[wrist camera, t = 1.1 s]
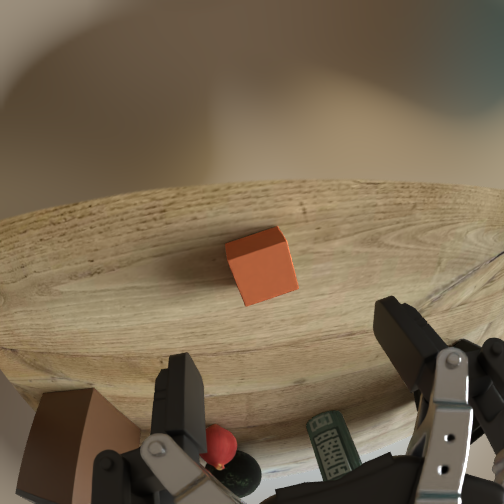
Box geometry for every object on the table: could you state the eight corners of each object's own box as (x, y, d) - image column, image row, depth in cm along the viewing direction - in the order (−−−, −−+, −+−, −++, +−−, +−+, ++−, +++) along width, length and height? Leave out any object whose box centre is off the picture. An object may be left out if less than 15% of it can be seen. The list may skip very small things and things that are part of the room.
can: (315, 431, 42) (337, 500, 29) (300, 422, 39) (324, 500, 26) (345, 416, 41) (373, 485, 28) (334, 406, 38) (364, 484, 25)
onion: (223, 435, 38) (228, 477, 31) (190, 429, 36) (191, 473, 29) (240, 419, 36) (247, 465, 29) (204, 413, 34) (207, 462, 27)
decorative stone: (267, 445, 42) (277, 491, 33) (236, 462, 45) (242, 503, 36) (221, 437, 38) (227, 490, 30) (192, 455, 41) (195, 500, 32)
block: (224, 243, 23) (226, 260, 21) (277, 225, 23) (286, 240, 21) (241, 287, 25) (245, 307, 23) (289, 270, 25) (299, 289, 23)
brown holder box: (42, 392, 30) (13, 501, 12) (94, 387, 30) (70, 524, 12) (88, 431, 35) (76, 528, 17) (141, 429, 35) (137, 542, 17)
